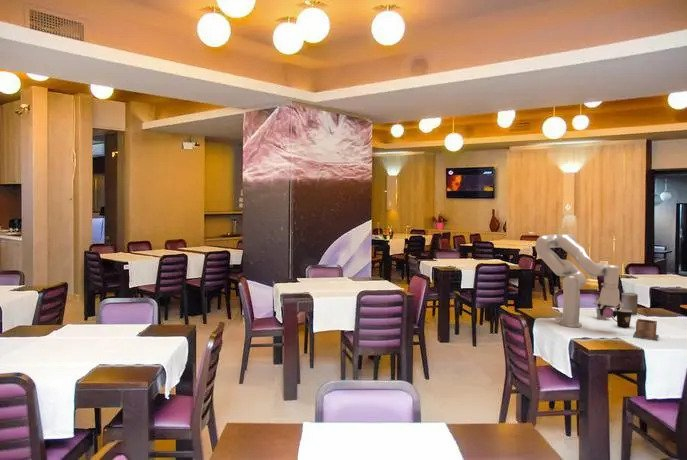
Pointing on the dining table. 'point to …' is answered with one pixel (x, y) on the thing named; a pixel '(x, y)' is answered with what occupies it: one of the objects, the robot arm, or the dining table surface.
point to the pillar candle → (630, 302)
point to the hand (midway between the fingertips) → (607, 316)
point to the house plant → (599, 310)
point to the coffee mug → (623, 318)
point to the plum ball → (608, 312)
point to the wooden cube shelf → (646, 329)
